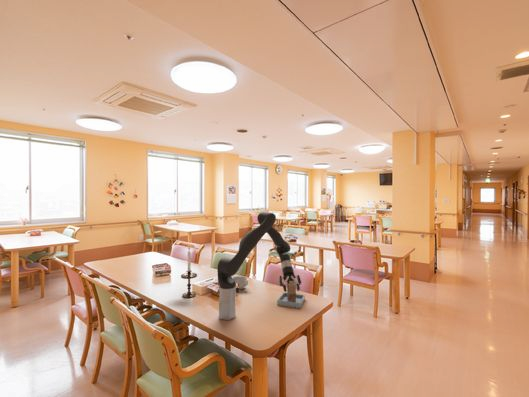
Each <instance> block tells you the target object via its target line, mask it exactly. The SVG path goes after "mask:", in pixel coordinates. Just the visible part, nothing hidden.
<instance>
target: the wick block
mask: <svg viewBox="0 0 529 397" xmlns="http://www.w3.org/2000/svg"><path fill="white" fill-rule="evenodd" d="M286 284H287V285H286V290H287V291H286V293H287V300H288V301H290V302H296V294H297V287H296V286H297V285H296V284H295V283H294V281H289V283H286Z"/></svg>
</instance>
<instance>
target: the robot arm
mask: <svg viewBox="0 0 529 397" xmlns="http://www.w3.org/2000/svg"><path fill="white" fill-rule="evenodd" d="M276 216H277V215H276V214H275V213H273V212H267V211H261V212H259V213H258V215H257V217H256V218H257V222H258V224H259V225H258V226H257V227H255V228H253V229H250V230H249V231H248V232H246V234H244V236H243V237H242V238H241V240H240V241H239V246H238V251H237V253H236V254H235V255H234V256H233V257H232V258H228V257H222V258H221V259H220V260H219V261H218V263H217V270H216V271H217V282H218V284H219V285H218V286H219V291H218V292H219V293H218V294H219V296H218V297H219V300H218V319H219V320H223V321H224V320H226V321H230V320H232V319H234V318H236V316H237V315H236V310H237V309H236V306H237V305H236V304H237V303H236V295H237V293H236V290H237V289H236V283H235V280H234V279H233V277H234V276H235V275H236V274H237V273H238V272H239V270H240V269H241V267H242V265H243V263H244V262H245V260H246V259H247V258H248V256H249V255H250V253H251V252H252V251H253V249H255V247H256V246H257V244H259V241H260V240H262V238H263V237H264V236H265V234H266V233H267V234H268V235H269V237H270V239H271V241H273V244H274V246H276V248H275V251H276V253H277V255H278V256H279V260H280V266H281V271H282V275H279V278H278V279H279V280H278V281H279V286H280V287H282V289H283V292H285V293H287V285H286V284H287V283H289V281H294V283H295V284H296V292H299V291H300V290H301V288H300V285H301V284H302V280H301V277H300V275H299V274H297V275H295V272H294V266H293V264H292V260H291V256H290V254H288V253H290V251H291V245H290V243H288V242H287V241H286V240H285V239H284V238H283V236H282V234H281V233H280V232H279V231H278V230H277V229H276V228H274V227H273V226H274V225H275V223H276V222H277V221H276V220H277V217H276ZM283 281H284V282H283Z"/></svg>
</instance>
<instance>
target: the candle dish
mask: <svg viewBox="0 0 529 397" xmlns="http://www.w3.org/2000/svg"><path fill="white" fill-rule="evenodd" d="M276 301H277V303H276V304H277V306H282V307H290V308H295V307H296V308H297V309H301V308H302V307H303V304H304V302H305V301H306V295H305V294H300V293H296V302H290V301H288V300H287V292H285V291H283V292H282V294H281V295H280V296H279V297H278V298H277V300H276Z"/></svg>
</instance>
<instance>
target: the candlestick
mask: <svg viewBox="0 0 529 397" xmlns="http://www.w3.org/2000/svg"><path fill="white" fill-rule="evenodd" d="M187 248H188V251H187V270H186V272H185V273H182V274H181V275H180V278H181V279H184V280H187V284H186V286H187V291H186V292H184V293H183V294H182V296H181V297H182V298H184V299H192V298H195V297H196V292H194V291H191V288H192V287H191V286H192V283H191V279H195V278H197V277H198V274H197V272H192V271H193V270H191V261H192V260H191V250H190V246H188V247H187Z"/></svg>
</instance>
